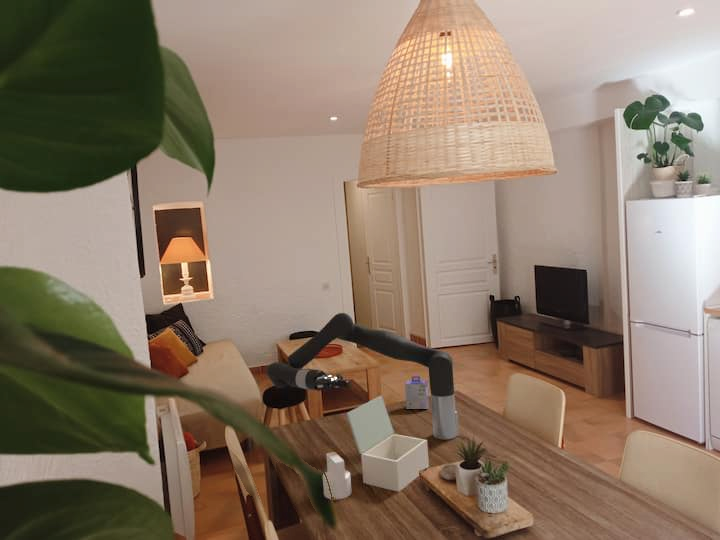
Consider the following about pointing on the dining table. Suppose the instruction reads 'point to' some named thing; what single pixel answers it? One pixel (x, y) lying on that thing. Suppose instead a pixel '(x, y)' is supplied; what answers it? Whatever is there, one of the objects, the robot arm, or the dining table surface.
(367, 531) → the dining table surface
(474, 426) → the dining table surface
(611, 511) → the dining table surface
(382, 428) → the lid
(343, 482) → the cylinder with rectangular tab
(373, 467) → the storage box
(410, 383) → the ink cartridge box
